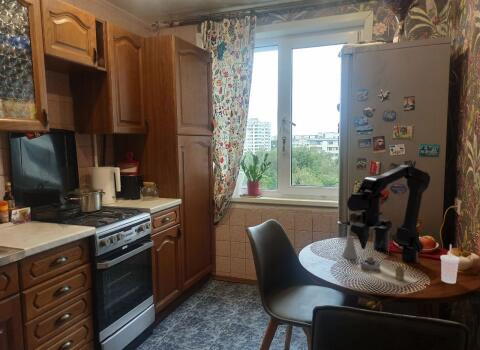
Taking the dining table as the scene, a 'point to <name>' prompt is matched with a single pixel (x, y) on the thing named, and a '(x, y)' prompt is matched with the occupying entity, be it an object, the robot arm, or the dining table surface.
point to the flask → (350, 249)
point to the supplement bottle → (383, 245)
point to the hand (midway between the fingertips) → (370, 246)
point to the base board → (389, 274)
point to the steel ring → (370, 265)
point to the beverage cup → (449, 268)
